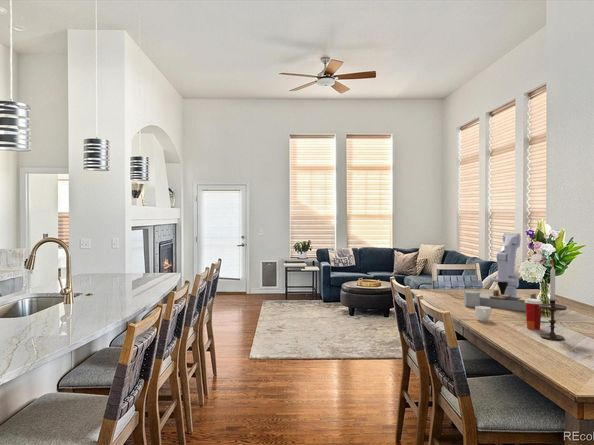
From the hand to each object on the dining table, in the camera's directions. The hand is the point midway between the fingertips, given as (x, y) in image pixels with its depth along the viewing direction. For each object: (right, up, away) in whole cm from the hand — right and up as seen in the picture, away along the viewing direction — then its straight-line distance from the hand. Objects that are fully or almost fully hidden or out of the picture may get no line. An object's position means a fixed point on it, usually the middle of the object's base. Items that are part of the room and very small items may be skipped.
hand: (502, 294), depth 276 cm
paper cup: (-11, -8, -57) cm, 59 cm away
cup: (-28, -8, -40) cm, 50 cm away
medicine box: (-19, -7, -2) cm, 21 cm away
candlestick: (-11, -8, -74) cm, 75 cm away
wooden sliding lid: (-1, -2, +1) cm, 2 cm away
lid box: (+2, -7, -2) cm, 7 cm away
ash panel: (+11, -2, -10) cm, 15 cm away
